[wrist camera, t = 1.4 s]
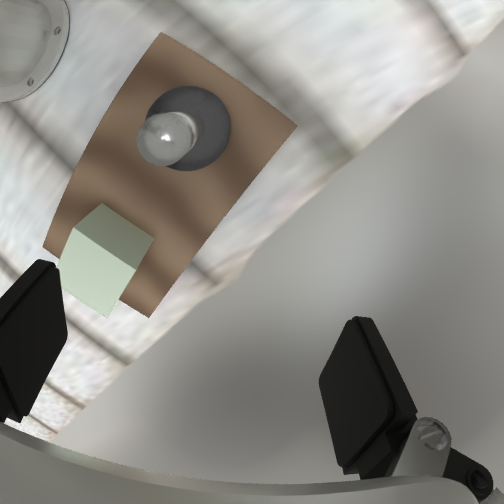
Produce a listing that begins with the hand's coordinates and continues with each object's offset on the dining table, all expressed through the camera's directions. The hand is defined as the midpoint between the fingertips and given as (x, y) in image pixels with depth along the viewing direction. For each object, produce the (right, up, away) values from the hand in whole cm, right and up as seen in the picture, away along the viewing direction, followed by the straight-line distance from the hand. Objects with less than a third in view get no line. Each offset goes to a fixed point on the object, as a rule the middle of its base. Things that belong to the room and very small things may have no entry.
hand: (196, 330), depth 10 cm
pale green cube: (-11, +3, +19) cm, 23 cm away
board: (-8, +8, +19) cm, 22 cm away
